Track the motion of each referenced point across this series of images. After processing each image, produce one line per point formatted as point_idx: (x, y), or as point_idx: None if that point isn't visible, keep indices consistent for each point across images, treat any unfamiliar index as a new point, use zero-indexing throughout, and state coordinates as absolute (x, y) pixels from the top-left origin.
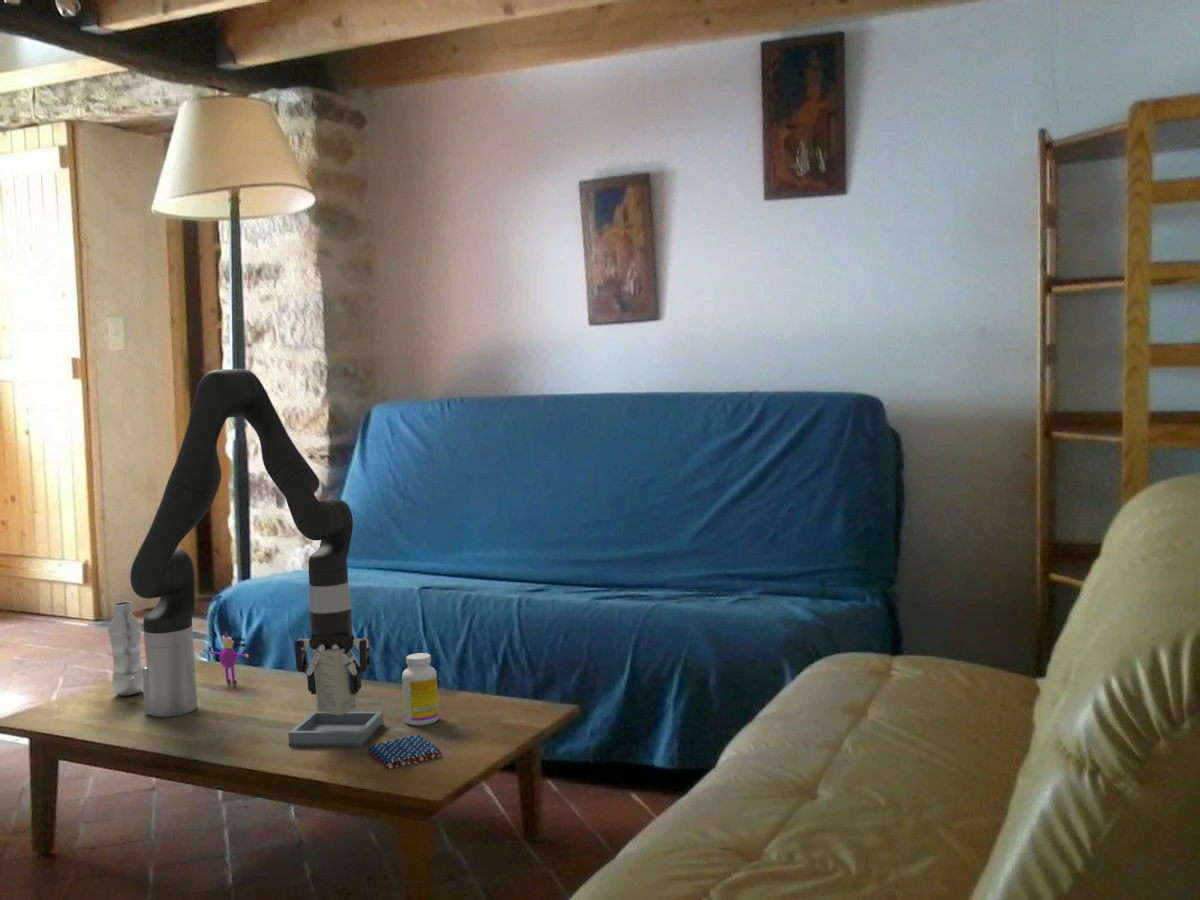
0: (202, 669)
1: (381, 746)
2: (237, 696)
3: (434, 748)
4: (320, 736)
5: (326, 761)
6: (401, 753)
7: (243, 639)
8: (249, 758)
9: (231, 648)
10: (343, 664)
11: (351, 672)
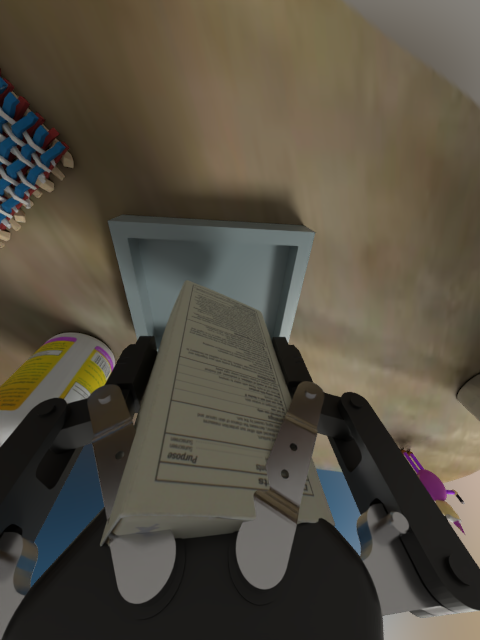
0: (431, 471)
1: (21, 153)
2: (400, 423)
3: None
4: (229, 225)
5: (165, 74)
6: None
7: None
8: (393, 127)
9: (436, 500)
10: (138, 426)
11: (118, 394)
